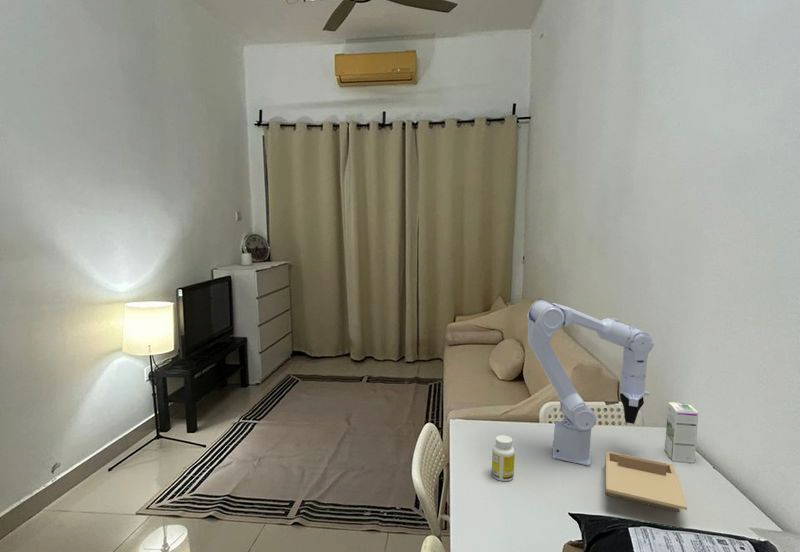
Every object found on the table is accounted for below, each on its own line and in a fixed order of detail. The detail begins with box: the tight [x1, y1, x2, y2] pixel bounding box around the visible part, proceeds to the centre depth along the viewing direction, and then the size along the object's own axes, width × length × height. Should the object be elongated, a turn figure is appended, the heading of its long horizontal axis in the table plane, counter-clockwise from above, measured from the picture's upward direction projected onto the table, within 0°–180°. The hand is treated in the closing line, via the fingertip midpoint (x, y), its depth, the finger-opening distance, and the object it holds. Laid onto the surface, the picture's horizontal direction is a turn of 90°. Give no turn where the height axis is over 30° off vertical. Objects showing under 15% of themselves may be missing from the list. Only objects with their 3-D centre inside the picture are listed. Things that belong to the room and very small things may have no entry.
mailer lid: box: [605, 453, 688, 511], centre depth 102 cm, size 15×13×3 cm
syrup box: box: [664, 401, 699, 464], centre depth 123 cm, size 6×6×14 cm
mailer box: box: [604, 450, 680, 513], centre depth 109 cm, size 15×13×4 cm
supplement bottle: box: [491, 434, 516, 482], centre depth 113 cm, size 5×5×10 cm
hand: (629, 422), depth 122 cm, fingers closed
